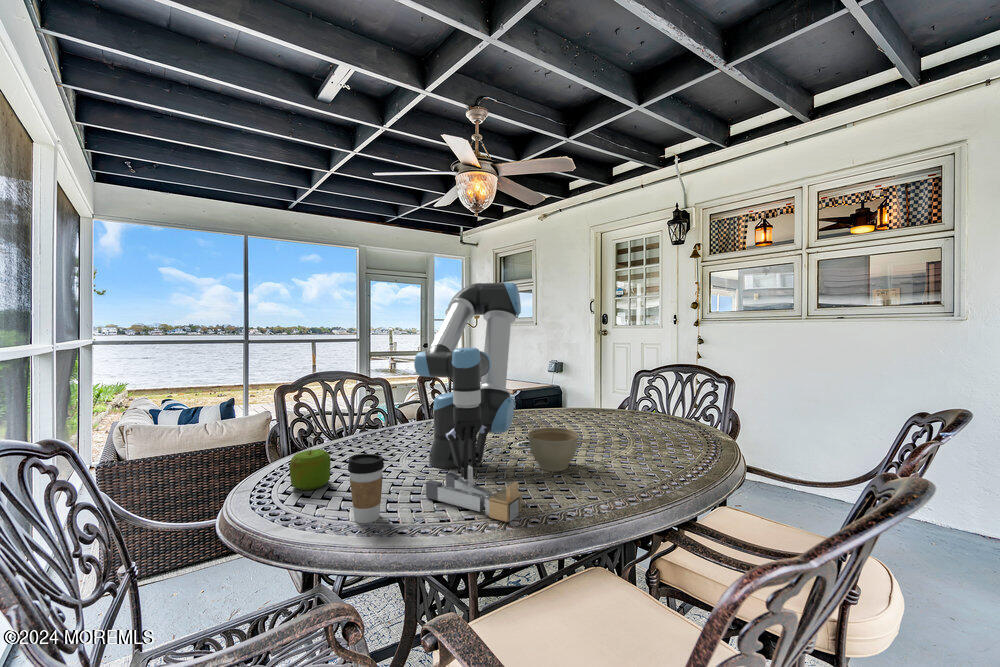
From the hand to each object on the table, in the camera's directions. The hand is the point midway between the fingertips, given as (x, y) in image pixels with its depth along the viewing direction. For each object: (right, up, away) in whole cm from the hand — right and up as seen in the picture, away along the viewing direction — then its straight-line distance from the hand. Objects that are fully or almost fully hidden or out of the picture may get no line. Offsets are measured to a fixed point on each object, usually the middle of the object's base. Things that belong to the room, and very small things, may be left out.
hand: (468, 489), depth 121 cm
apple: (-46, -2, +7) cm, 47 cm away
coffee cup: (-24, -2, -14) cm, 28 cm away
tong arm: (0, -1, -3) cm, 3 cm away
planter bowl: (+26, -1, +22) cm, 34 cm away
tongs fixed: (+1, -2, -8) cm, 8 cm away
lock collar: (+10, -1, -13) cm, 17 cm away
